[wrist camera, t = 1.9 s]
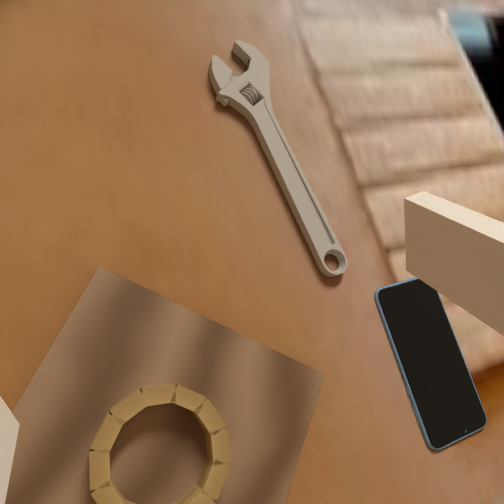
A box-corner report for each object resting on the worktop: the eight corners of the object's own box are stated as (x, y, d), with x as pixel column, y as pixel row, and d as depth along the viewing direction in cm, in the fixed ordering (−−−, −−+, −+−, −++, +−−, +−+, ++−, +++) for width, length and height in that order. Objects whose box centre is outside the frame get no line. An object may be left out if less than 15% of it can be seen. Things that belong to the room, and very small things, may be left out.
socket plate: (-74, 560, 25) (-96, 581, 22) (99, 269, 33) (98, 258, 30) (227, 664, 28) (239, 693, 25) (319, 374, 36) (336, 374, 33)
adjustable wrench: (344, 273, 40) (354, 268, 39) (287, 293, 38) (294, 289, 36) (254, 51, 44) (259, 39, 43) (197, 57, 42) (200, 44, 40)
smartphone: (431, 272, 42) (492, 425, 39) (425, 274, 43) (484, 424, 40) (373, 289, 39) (433, 455, 36) (367, 291, 40) (426, 454, 37)
